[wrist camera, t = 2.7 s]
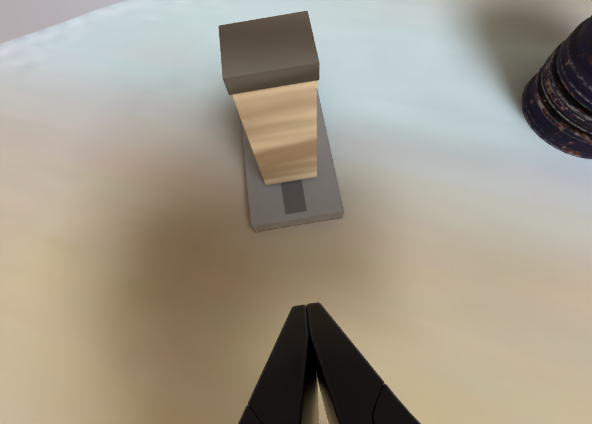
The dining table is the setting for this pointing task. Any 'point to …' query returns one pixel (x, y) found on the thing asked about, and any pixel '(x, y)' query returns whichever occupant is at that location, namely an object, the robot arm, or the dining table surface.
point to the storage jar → (564, 95)
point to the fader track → (293, 189)
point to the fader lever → (275, 91)
